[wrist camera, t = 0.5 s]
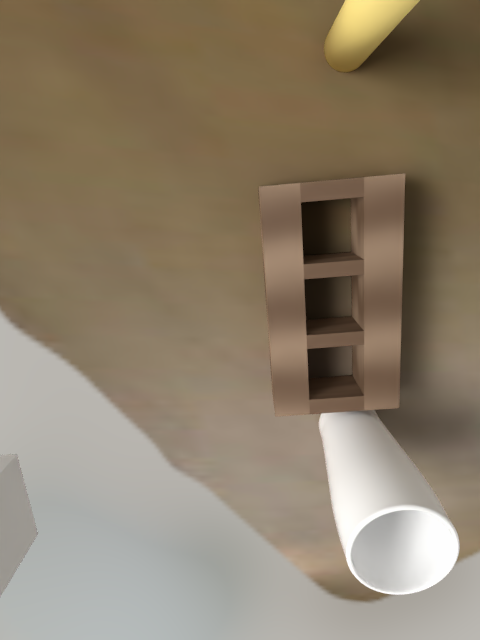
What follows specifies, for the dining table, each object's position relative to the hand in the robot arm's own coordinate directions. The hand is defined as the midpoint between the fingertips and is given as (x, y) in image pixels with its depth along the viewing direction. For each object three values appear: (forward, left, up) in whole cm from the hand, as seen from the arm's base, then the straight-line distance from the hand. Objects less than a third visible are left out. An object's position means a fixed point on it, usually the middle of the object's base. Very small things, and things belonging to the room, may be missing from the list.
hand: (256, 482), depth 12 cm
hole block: (+1, +6, -25) cm, 26 cm away
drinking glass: (+13, +8, -25) cm, 30 cm away
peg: (-17, +8, -25) cm, 31 cm away
